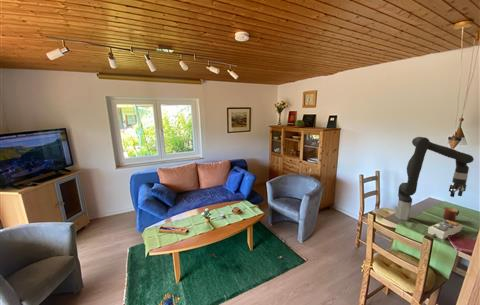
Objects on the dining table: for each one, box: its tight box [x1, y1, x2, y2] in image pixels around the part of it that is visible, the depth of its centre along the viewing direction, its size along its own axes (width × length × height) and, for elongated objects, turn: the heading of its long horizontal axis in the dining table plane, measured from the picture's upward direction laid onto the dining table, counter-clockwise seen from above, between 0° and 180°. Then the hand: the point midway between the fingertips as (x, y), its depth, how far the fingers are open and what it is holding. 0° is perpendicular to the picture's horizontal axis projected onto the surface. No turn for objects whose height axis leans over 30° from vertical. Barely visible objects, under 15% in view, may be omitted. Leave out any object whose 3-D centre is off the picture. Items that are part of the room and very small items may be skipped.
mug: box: [442, 206, 460, 222], centre depth 173 cm, size 12×9×10 cm
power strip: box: [427, 220, 463, 240], centre depth 155 cm, size 32×9×6 cm, turn 112°
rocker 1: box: [437, 224, 448, 231], centre depth 151 cm, size 6×4×2 cm, turn 112°
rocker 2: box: [449, 221, 460, 225], centre depth 157 cm, size 6×4×2 cm, turn 112°
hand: (455, 196), depth 161 cm, fingers open, 8 cm apart
